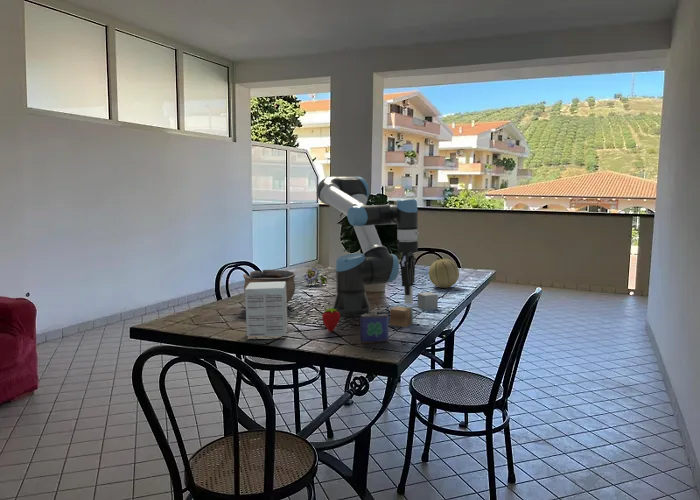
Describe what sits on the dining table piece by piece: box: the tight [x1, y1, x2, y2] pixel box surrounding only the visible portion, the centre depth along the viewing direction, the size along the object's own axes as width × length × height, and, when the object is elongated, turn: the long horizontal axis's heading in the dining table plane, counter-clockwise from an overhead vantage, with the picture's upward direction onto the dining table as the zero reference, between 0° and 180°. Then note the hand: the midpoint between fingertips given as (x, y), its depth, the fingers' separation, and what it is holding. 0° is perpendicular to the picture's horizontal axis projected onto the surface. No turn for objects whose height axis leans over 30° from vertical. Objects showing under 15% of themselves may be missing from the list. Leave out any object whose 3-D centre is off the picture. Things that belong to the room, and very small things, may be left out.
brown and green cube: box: [389, 305, 414, 328], centre depth 186 cm, size 6×6×6 cm
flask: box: [359, 309, 390, 344], centre depth 165 cm, size 9×3×11 cm, turn 95°
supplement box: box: [244, 281, 289, 337], centre depth 176 cm, size 13×13×18 cm
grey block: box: [417, 291, 439, 311], centre depth 212 cm, size 6×6×6 cm
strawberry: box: [321, 303, 341, 333], centre depth 177 cm, size 6×8×10 cm
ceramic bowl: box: [242, 269, 297, 304], centre depth 217 cm, size 22×22×15 cm
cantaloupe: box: [428, 257, 460, 289], centre depth 253 cm, size 15×15×15 cm
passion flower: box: [301, 266, 329, 285], centre depth 269 cm, size 11×11×12 cm
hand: (408, 303), depth 193 cm, fingers closed
